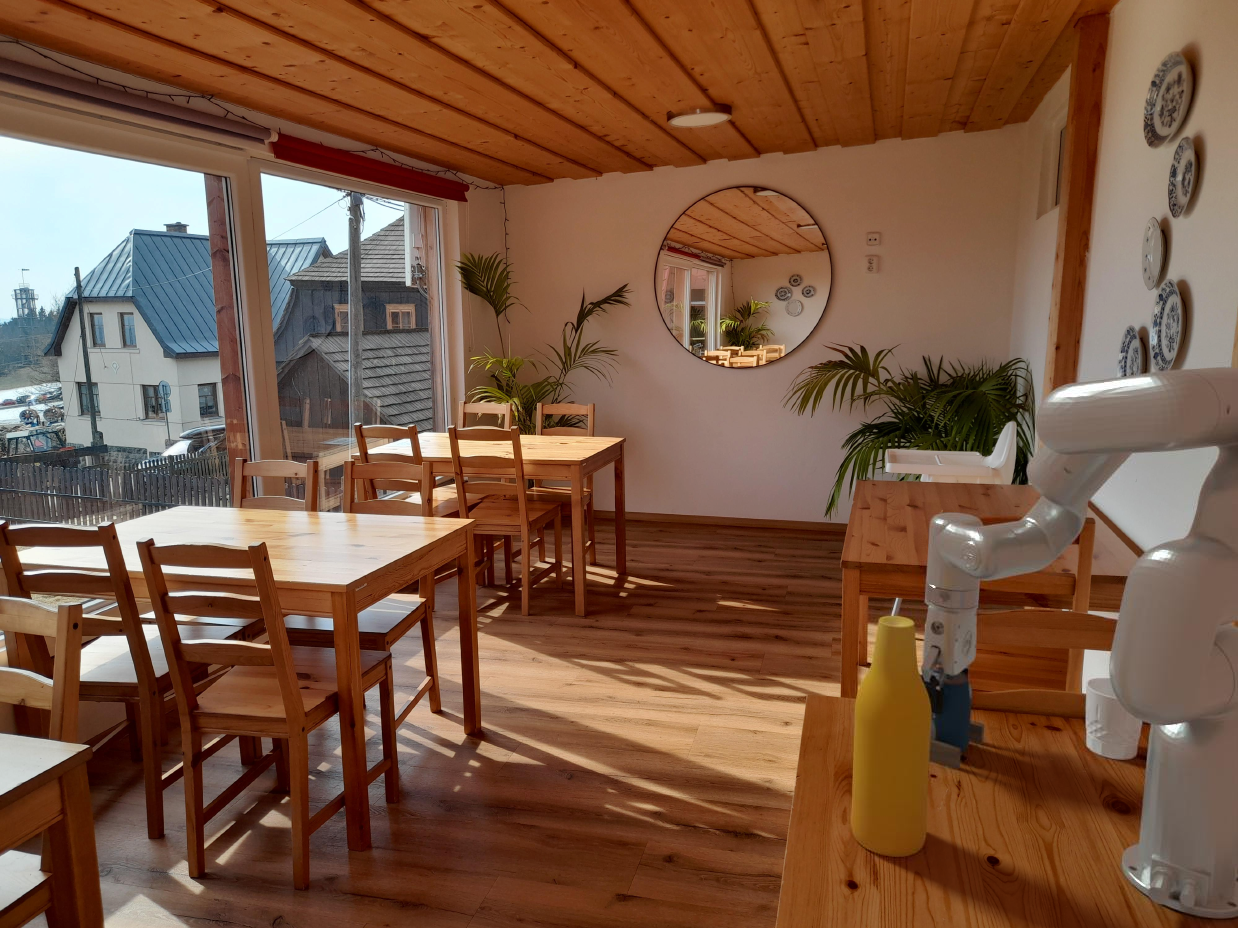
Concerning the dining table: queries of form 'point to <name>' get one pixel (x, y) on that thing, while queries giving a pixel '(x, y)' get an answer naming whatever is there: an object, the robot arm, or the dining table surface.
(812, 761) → the dining table surface
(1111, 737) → the white cup
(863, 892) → the dining table surface
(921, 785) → the yellow bottle
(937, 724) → the soda can
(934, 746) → the gray u-shaped bracket
